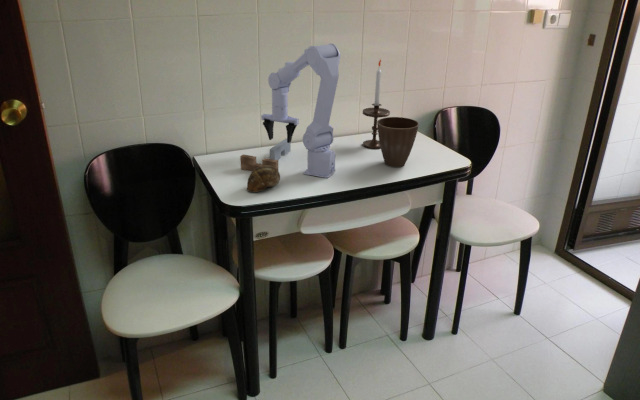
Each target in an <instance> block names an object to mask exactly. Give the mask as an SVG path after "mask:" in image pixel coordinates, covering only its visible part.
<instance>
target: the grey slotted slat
mask: <svg viewBox="0 0 640 400" xmlns="http://www.w3.org/2000/svg"><path fill="white" fill-rule="evenodd" d="M291 142H292V141H291ZM291 142H290V143H287V138H284V139H283V140H281V141H280V142H278V143H277V144H275V145H273V146H272V147H271V148H269V159H273V160H278V161H279V160H281V158H282V156H286V155H288V154H289V153H290V152H291V151H292V150H291V146H292V145H291Z"/></svg>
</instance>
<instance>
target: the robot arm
mask: <svg viewBox="0 0 640 400" xmlns="http://www.w3.org/2000/svg"><path fill="white" fill-rule="evenodd" d="M303 51H304V52H303V53H302V54H301V55H300V56H299V57H298V58H297V59H295V61H286V62H285V63H284V65H283V67H281V68H278V71H276V72H271V73H270V74H269V76H268V79H267V81H268V86H269V87H270V88H271V106H272V107H271V113H269V114H268V113H267V114H266V113H263V114H261V121H263V122H262V125H263V126H264V128H265V130H266V133H267V137H268V140H269V141H271V140H273V139H274V125H275V122H277V123H278V122H279V123H281V124H282V123H283V124H286V125H285V129H286V139H287V143H290V142H292V140H293V136H294V133H295V130H296V128H297V126H298V125H299V124H300V121H299V120H300V119H299V118H297V117H292V116H289V115H288V111H289V110H288V109H289V108H288V100H289V99H288V98H289V97H288V93H289V91H290V87H291V84H292V82H293V81H294V80H296V79H297V78H299V77H300V75H301V71H302V70H304V69H305V68H307V67H308V66H309V67H311V69H312V70H313V72H314V73H315V74H316V75H317V76H319V77H320V81H319V88H318V91H317V96H316V97H317V98H316V101H315V102H316V103H315V107H314V114H313V119H312V122H311V123H310V124H309V125H308V126H307V127H306V130H305V132H304V133H303V136H302V143H303V146H304V148H305V149H306V150H307V169H305V170H304V171H303V172H302V173H303V175H307V176H308V175H309V176H313V177H320V178H325V179H328V178H330V177H331V175H333V174H334V172H336V152H335V150H331V149H330V147H331V145H332V144H333V142H334V127H333V126H332V124H330V121H331V120H330V119H331V116H332V111H333V110H332V109H333V105H334V100H335V96H336V91H337V87H338V81H339V76H340V75H339V65H340V60H341V52H340V51H339V48H338V47H337V45H336V44H334V43H328V44H322V45H321V44H320V45H310V46H308V48H306V49H304V50H303Z"/></svg>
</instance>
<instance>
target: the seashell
mask: <svg viewBox="0 0 640 400" xmlns="http://www.w3.org/2000/svg"><path fill="white" fill-rule="evenodd" d="M278 170H279V169H278ZM278 170H277V169H276V168H275V167H273V166H269V165H264V166H263V165H262V166H259V167H257V168H256V169H255V170H253V171H251V173H250V174H249V176H248V179H247V183H246V184H247V186H246V191H247V192H251V193H257V192H261V191H263V190H265V189H266V188H267V187H268V188H272V187H275V186H277V185H278V184H279V183H280V180H281V174H280V172H279V171H278Z"/></svg>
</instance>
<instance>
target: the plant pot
mask: <svg viewBox="0 0 640 400" xmlns="http://www.w3.org/2000/svg"><path fill="white" fill-rule="evenodd" d="M419 124H420V123H419V122H418V121H417V120H414V119H413V118H408V117H401V116H387V117H381V118H380V119H379V118H378V119H377V126H378V130H377V133H378V134H377V135H378V140H379V142H380V147H381V149H380V151H381V154H382V158H383V162H384V163H385V165H386V166H387V167H391V168H401V167H404V166H405V165H406V163H407V161H408V159H409V157H410V154H411V152H412V149H413V147H414V143H415V141H416V137H417V134H418V129H419V126H420V125H419Z"/></svg>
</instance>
